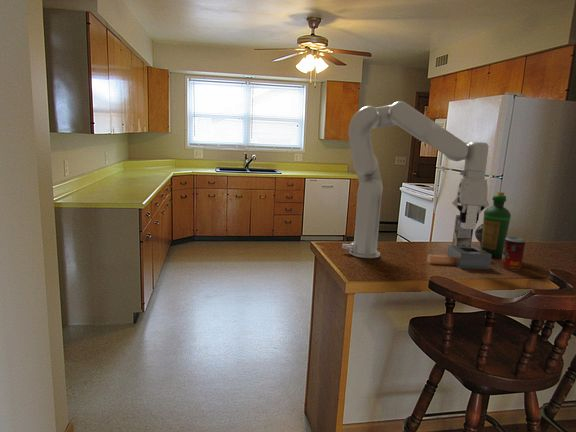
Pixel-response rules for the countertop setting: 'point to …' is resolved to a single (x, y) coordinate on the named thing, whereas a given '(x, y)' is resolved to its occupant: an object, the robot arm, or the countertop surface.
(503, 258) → the soda can
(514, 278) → the countertop surface
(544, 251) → the countertop surface
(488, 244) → the bottle
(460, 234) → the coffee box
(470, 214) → the steel wedge
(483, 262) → the bracket head
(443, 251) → the countertop surface
